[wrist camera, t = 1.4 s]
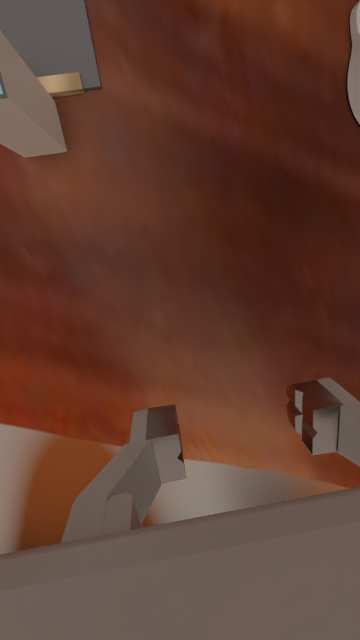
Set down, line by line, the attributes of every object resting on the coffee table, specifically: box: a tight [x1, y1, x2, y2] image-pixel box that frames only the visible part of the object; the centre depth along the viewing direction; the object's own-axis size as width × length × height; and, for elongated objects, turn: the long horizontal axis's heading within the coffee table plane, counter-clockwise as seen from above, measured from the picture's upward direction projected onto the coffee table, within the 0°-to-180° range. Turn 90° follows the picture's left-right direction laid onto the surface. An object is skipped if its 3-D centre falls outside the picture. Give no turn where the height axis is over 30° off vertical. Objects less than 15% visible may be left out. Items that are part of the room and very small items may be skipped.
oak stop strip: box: [36, 72, 85, 98], centre depth 29 cm, size 12×2×1 cm, turn 98°
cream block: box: [0, 31, 67, 158], centre depth 24 cm, size 5×5×14 cm
